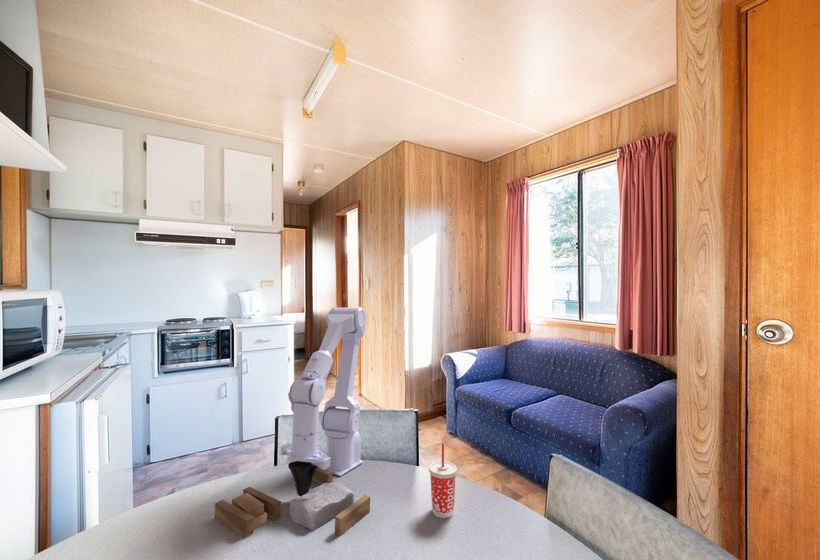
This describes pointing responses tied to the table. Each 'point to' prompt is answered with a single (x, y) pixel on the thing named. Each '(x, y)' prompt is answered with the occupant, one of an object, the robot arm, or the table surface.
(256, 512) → the offcut top
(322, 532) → the table surface
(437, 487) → the beverage cup
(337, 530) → the wooden bar set
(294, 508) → the stone block
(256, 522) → the offcut low
